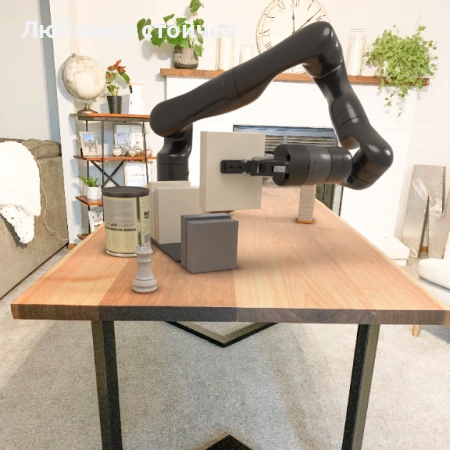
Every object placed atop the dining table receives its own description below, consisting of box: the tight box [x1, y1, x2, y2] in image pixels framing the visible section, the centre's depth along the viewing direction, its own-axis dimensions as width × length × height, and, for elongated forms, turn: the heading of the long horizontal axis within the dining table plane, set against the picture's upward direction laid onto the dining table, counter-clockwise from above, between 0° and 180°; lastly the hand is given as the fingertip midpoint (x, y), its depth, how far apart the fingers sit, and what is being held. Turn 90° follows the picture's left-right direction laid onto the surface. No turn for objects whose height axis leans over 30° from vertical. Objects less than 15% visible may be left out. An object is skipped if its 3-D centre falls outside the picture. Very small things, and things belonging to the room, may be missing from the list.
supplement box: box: [297, 184, 317, 224], centre depth 141 cm, size 8×5×13 cm, turn 168°
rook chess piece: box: [131, 244, 158, 294], centre depth 77 cm, size 4×4×8 cm
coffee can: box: [101, 185, 152, 258], centre depth 100 cm, size 10×10×14 cm
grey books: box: [180, 212, 239, 274], centre depth 91 cm, size 6×10×10 cm, turn 115°
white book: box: [198, 130, 267, 213], centre depth 78 cm, size 3×11×13 cm, turn 115°
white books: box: [147, 180, 203, 263], centre depth 105 cm, size 25×12×14 cm, turn 25°
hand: (217, 165), depth 76 cm, fingers closed on white book, 3 cm apart
